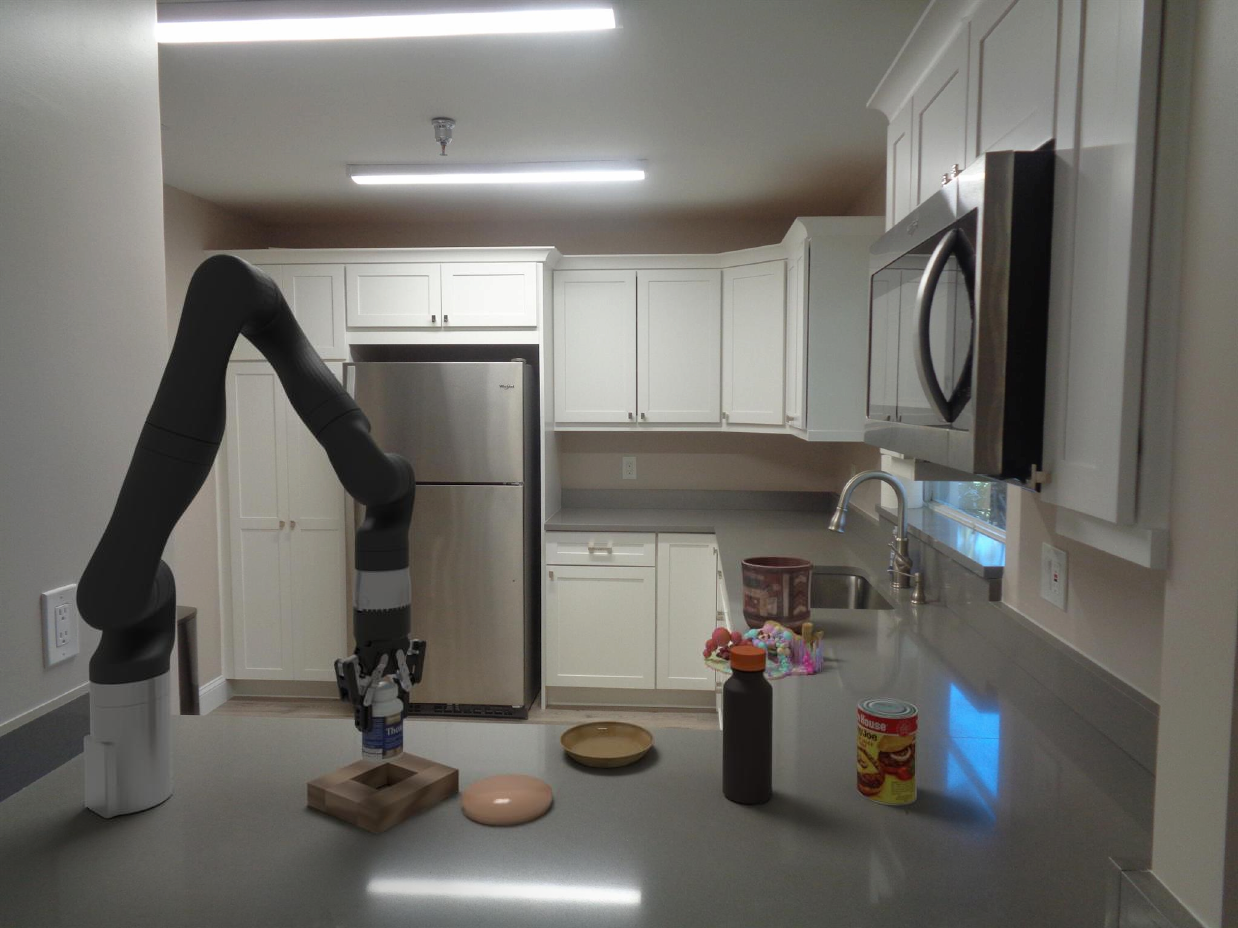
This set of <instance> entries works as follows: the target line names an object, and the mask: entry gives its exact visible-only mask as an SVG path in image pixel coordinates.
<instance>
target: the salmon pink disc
mask: <svg viewBox="0 0 1238 928" xmlns="http://www.w3.org/2000/svg"><path fill="white" fill-rule="evenodd" d="M552 804H553V790H552V788H551V786H550V785H549V783H547V781H544V780H543V779H541V778H538V777H535V776H531V775H525V774H516V773H515V774H501V775H494V776H489V777H486V778H483V779H480V780H478V781H476V782H474V783H472V784H470V785H469V786H468V787H466V789H465V790H464V791H463V793H462V794H461V811H462V813H463V814H464V815H465V816H466V817H467V818H468V819H470V820H472V821H474V822H476V823H481V824H485V825H490V826H491V825H492V826H509V825H517V824H522V823H526V822H530V821H533V820H535V819H537V818H539V817H541V816H543V815H544V814H545V813H547V811H549V810H550V808H551V806H552Z"/></svg>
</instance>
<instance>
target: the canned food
mask: <svg viewBox="0 0 1238 928" xmlns="http://www.w3.org/2000/svg"><path fill="white" fill-rule="evenodd" d="M918 715H919V711H918V707H916V706H915V705H914V704H912V703H910V702H907V701H904V700H902V699H896V698H893V697H892V698H891V697H884V696H883V697H879V696H875V697H866V698H863V699H860V700H859V701H858V702H857V725H856V727H857V731H856V732H857V737H856V739H857V743H856V744H857V745H856V747H857V750H856V751H857V752H856V790H857V793H858V794H859V795H860V796H862V797H863V798H865V799H866V800H868V801H870V802H873V803H877V804H881V805H885V806H894V807H895V806H906V805H910V804H913V803H914V802H915V801H916V800H917V799H918V797H917V796H918V791H917V790H918V737H919V735H918V728H919V727H918V726H919V723H918V722H919V720H918V719H919V718H918V717H919V716H918Z"/></svg>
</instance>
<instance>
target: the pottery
mask: <svg viewBox="0 0 1238 928" xmlns="http://www.w3.org/2000/svg"><path fill="white" fill-rule="evenodd" d="M813 568H814V562H813V561H811V560H808V559H805V558H801V557H800V558H799V557H795V556H794V557H792V556H777V555H774V556H773V555H772V556H770V555H769V556H768V555H767V556H766V555H765V556H753V557H747V558H745V559H742V560H741V574H742V575H741V576H742V591H743V592H742V613H743V617H744V619H743V620H744V621H745V623H746V625H747V627H748V628H749V629H750V630H751V629H762V628H763V627H764V624H765V622H766V621H771V620H772V621H774V622H777V623H779V624H780V625H781V626H783V627H786V628H788V629H791V630H792V631H793V632H794V633H795V634H797V635H800V633H802V625H803V623H810V622H809V621H810V618H811V585H812V575H813Z"/></svg>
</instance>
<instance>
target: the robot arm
mask: <svg viewBox="0 0 1238 928" xmlns="http://www.w3.org/2000/svg"><path fill="white" fill-rule="evenodd" d="M178 322H179V323H178V326H177V327H178V328H177V331H176V336H175V339H174V341H173V345H172V349H171V352H170V355H169V357H168V360H167V363H166V365H165V368H164V372H163V374H162V377H161V379H160V382H159V385H158V388H157V391H156V393H155V396H154V400H153V402H152V405H150V406H151V407H150V409H149V410H148V411H149V412H148V413H147V415H146V419H145V422H144V423H143V426H142V429H141V432H140V434H139V437H138V440H137V443H136V445H135V448H134V450H133V455H132V458H131V460H130V463H129V465H128V466H129V467H128V469H127V471H126V474H125V476H124V480H123V482H122V485H121V486H120V491H119V493H118V497H117V499H116V501H115V505H114V508H113V511H112V513H111V517H110V519H109V521H108V522H107V525H106V528H105V530H104V531H103V534H102V536H101V538H100V540H99V542H98V544H97V546H96V548H95V549H94V552H93V553H92V555H91V557H90V558H89V559H90V560H89V561H88V563H87V565H86V567H85V569H84V570H83V573H82V574H81V577H80V579H79V582H78V585H77V588H76V593H75V594H76V595H75V602H76V607H77V612H78V614H79V615H80V617H81V618H82V620H83V621H84V622H85V623H86V624H87V625H88V626H90V627H91V628H92V629H95V630H98V631H102V632H101V636H100V641H99V642H98V645H97V647H96V649H95V651H94V652H93V654H92V656H91V657H90V659H89V662H88V663H89V664H88V680H89V681H88V682H89V683H88V684H89V723H90V724H89V727H90V729H89V732H90V734H87V735H85V736H84V738H83V767H84V798H85V799H84V806H86V807H85V808H87V807H88V808H89V810H90V811H92V812H94V813H95V814H96V815H99V816H101V817H102V818H105V819H110V818H113V817H116V816H119V815H121V816H122V815H127V814H131V813H132V814H133V813H137V812H141V811H144V810H145V811H146V810H148V809H150V808H152V807H155V806H157V805H159V804H161V803H162V802H164V801H166V800H167V799H168V798H170V797H171V795H172V794H173V780H174V778H173V759H172V758H173V756H172V753H173V752H172V751H173V750H172V749H173V748H172V700H171V699H172V697H171V695H172V693H171V690H172V689H171V656H172V651H174V647H175V642H176V630H177V629H176V625H177V623H176V622H177V621H176V620H177V587H176V586H177V585H176V580H175V576H174V574H173V571H172V569H171V567H170V566H169V564H168V563H167V562H166V561H165V560H164V559H162V558H163V554H164V552H165V551H164V550H165V547H166V545H167V543H168V540H169V538H170V536H171V534H172V532H173V530H174V529H175V527H176V525H177V524H178V522H179V520H180V519H181V518H182V516H183V515H184V513H186V511H187V509H188V508H189V506H190V505H191V504H192V503H193V501H194V500H195V498H196V496H197V495H198V494H199V492H200V490H201V489H202V487H203V485H204V484H205V482H206V481H207V479H208V477H209V475H210V472H211V470H212V468H213V465H214V462H215V461H216V457H217V454H218V452H219V450H220V447H221V444H222V442H223V438H224V434H225V430H226V424H227V393H226V392H227V390H226V384H227V382H226V381H227V380H226V379H227V371H228V366H229V363H230V359H231V356H232V354H233V351H234V348H235V345H236V343H237V340H238V339H239V336H240V335H241V336H242V337H244V338H245V339H246V340H248V342H249V343H251V344H252V346H253V347H254V348H256V350H257V351H258V352H260V353H261V354H262V355H263V357H264V358H265V359H266V361H267V362H268V363H269V364H270V366H271V367H272V369H273V371H274V372H275V374H276V375H277V377H278V379H279V382H280V384H281V386H282V388H283V391H284V392H285V395H286V396H287V399H288V402H289V403H290V405H291V406H292V408H293V410H294V412H296V414H297V416H298V418H299V419H300V420H301V422H302V423H303V424H304V425H305V426H306V428H307V430H308V431H310V433H311V435H313V437H314V438H315V439H316V441H317V442H318V443H319V445H321V446H322V448H323V449H324V452H325V453H326V455H327V458H328V461H329V462H330V464H331V466H332V468H333V470H334V472H335V474H336V476H337V479H338V480H339V482H340V483H341V485H342V487H343V488H344V489H345V491H346V492H347V493H348V494H349V496H350V497H351V498H353V499H354V500H355V501H356V502H357V503H358V504H361V505H363V506H365V513H364V515H365V516H364V520H363V523H362V524H361V526H359V528H357V530H356V532H355V537H354V574H353V580H352V581H353V582H352V635H353V638H354V640H355V648H354V649H353V653H352V655H350V656H348V657H346V658H344V659H342V658H338V659H336V660H335V661H334V663H333V667H334V673H335V677H336V678H335V679H336V683H337V687H338V693H339V699H340V701H341V702H342V703H347V704H350V705H352V706H354V726H355V728H356V729H357V731H358V732H360V733H362V732H363V733H369V732H371V731H372V705H371V704H370V703H371V700H372V697H373V694H374V690H375V689H376V688H378V686H379V683H380V682H381V679H383V678H385V677H386V676H388V677H389V678H390V682H394V683H396V684H397V685H398V696H397V697H396V698H398V699H400V700H401V701H402V703H403V720H404V719H407V718H408V713H409V712H410V691H411V690H412V687H413V686H414V685H415V684H420V683H421V682H422V678H423V671H424V665H425V658H426V657H425V656H426V651H427V650H426V649H427V641H425V640H423V639H419V638H413V637H411V638H409V634H410V633H411V632H412V583H411V582H412V581H411V576H410V575H411V573H410V543H409V540H410V539H409V531H410V527H411V524H412V519H413V511H414V506H415V501H416V500H415V499H416V487H417V485H416V484H417V482H416V476H415V472H414V471H415V470H414V468H413V466H412V465H411V463H410V461H408V459H406V458H405V457H404V456H402V455H400V454H398V453H393V452H383V451H382V449H381V448H380V447H379V445H378V444H377V443H376V441H375V440H374V438H373V437H372V435H371V434H370V433H371V430H372V424H371V422H370V420H369V418H368V416H367V415H366V413H364V411H363V410H362V409H361V408H360V406H359V405H358V404H357V402H356V401H355V399H354V398H353V397H352V396H351V394H350V393H349V392H348V390H346V388H345V386H344V385H342V383H341V381H339V380H338V378H337V376H335V374H334V373H333V372H332V370H331V369H330V368H329V367H328V365H326V363H325V362H324V360H323V359H322V358H321V356H320V355H319V353H318V352H317V350H316V349H315V348H314V346H313V344H312V343H311V342H310V341H309V339H308V337H307V335H306V334H305V332H304V331H303V329H302V328H301V325H300V324H299V323H298V321H297V319H296V317H295V314H294V313H293V311H292V309H291V307H290V305H289V303H288V301H287V300H286V298H285V296H284V294H283V293H282V291H281V289H280V287H279V285H278V284H277V282H276V281H275V280H274V278H273V277H272V276H271V275H270V274H269V273H267V272H265V271H264V270H262V269H261V268H259V267H257V266H255V265H254V264H252V263H250V262H249V261H247V260H245V259H243V258H241V257H239V256H237V255H234V254H230V253H218V254H214V255H212V256H209V257H208V258H206V259H205V260H203V261H202V262H201V263H200V264H199V266H198V267H196V269H195V271H194V273H193V274H192V277H191V278H190V280H189V284H188V287H187V289H186V294H185V297H184V302H183V306H182V310H181V314H180V318H179V321H178ZM357 666H358V668H357ZM367 677H368V678H370V679H369V680H368V679H367ZM88 808H87V809H88Z"/></svg>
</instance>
